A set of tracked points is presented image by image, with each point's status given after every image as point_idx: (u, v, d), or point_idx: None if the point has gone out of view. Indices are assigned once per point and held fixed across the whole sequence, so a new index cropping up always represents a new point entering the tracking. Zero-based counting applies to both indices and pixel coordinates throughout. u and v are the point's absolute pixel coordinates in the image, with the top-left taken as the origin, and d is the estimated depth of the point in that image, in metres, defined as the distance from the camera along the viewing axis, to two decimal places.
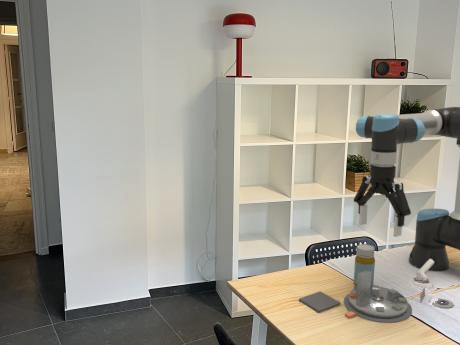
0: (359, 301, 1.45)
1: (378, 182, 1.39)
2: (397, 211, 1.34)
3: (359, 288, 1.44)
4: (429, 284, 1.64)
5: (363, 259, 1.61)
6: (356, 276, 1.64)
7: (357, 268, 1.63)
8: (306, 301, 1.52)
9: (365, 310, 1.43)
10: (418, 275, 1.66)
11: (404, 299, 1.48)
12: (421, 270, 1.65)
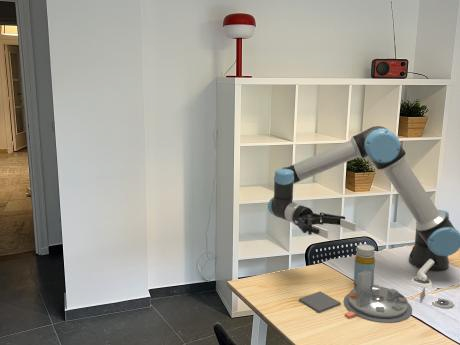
0: (359, 301, 1.45)
1: None
2: None
3: (359, 288, 1.44)
4: (429, 284, 1.64)
5: (363, 259, 1.61)
6: (356, 276, 1.64)
7: (357, 268, 1.63)
8: (306, 301, 1.52)
9: (365, 310, 1.43)
10: (418, 275, 1.66)
11: (404, 299, 1.48)
12: (421, 270, 1.65)
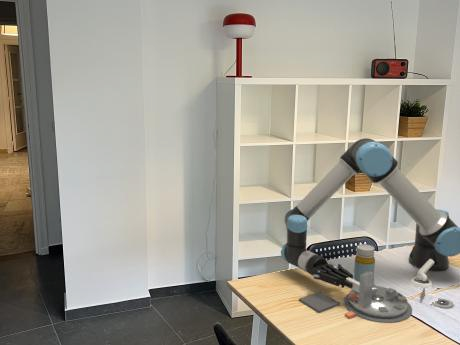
0: (362, 302, 1.44)
1: None
2: None
3: (362, 289, 1.43)
4: (429, 284, 1.64)
5: (363, 259, 1.61)
6: (356, 276, 1.64)
7: (357, 268, 1.63)
8: (306, 301, 1.52)
9: (368, 311, 1.43)
10: (418, 275, 1.66)
11: (403, 298, 1.49)
12: (421, 270, 1.65)
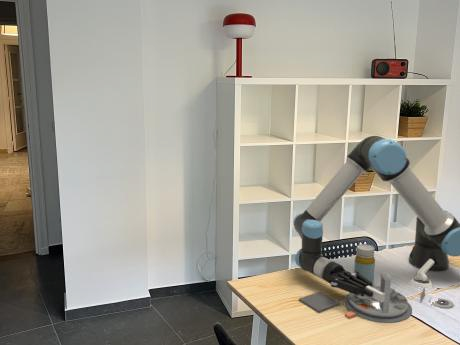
0: (387, 307, 1.41)
1: None
2: None
3: (387, 294, 1.40)
4: (429, 284, 1.64)
5: (363, 259, 1.61)
6: None
7: (357, 268, 1.63)
8: (306, 301, 1.52)
9: (393, 313, 1.41)
10: (418, 275, 1.66)
11: (390, 289, 1.56)
12: (421, 270, 1.65)
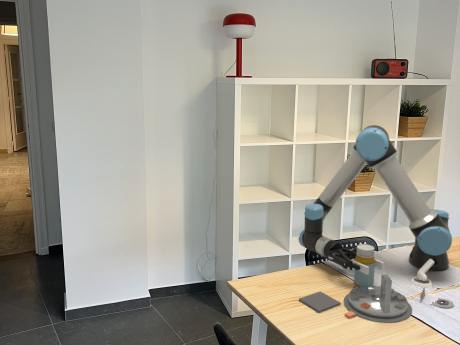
0: (388, 307, 1.41)
1: None
2: None
3: (388, 294, 1.40)
4: (429, 284, 1.64)
5: (363, 259, 1.61)
6: (356, 276, 1.64)
7: None
8: (306, 301, 1.52)
9: (394, 313, 1.41)
10: (418, 275, 1.66)
11: None
12: (421, 270, 1.65)
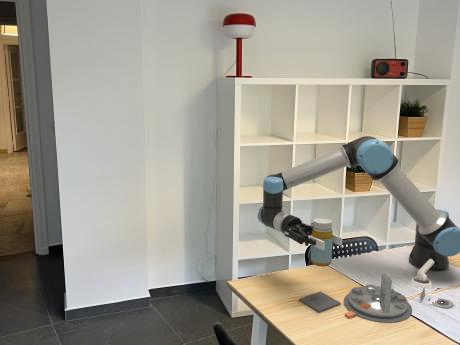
0: (388, 307, 1.41)
1: None
2: None
3: (388, 294, 1.40)
4: (429, 284, 1.64)
5: (319, 233, 1.46)
6: (312, 252, 1.49)
7: None
8: (306, 301, 1.52)
9: (394, 313, 1.41)
10: (418, 275, 1.66)
11: None
12: (421, 270, 1.65)
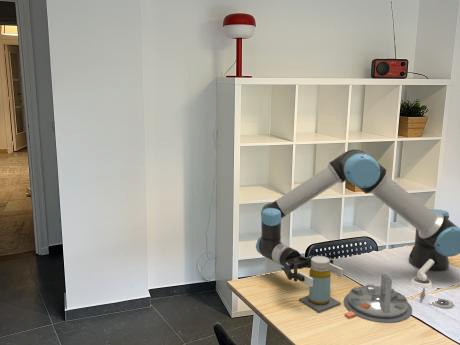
0: (388, 307, 1.41)
1: None
2: None
3: (388, 294, 1.40)
4: (429, 284, 1.64)
5: (317, 272, 1.48)
6: (311, 291, 1.51)
7: None
8: (306, 301, 1.52)
9: (394, 313, 1.41)
10: (418, 275, 1.66)
11: None
12: (421, 270, 1.65)
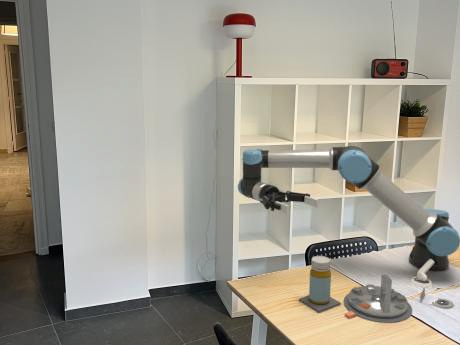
0: (388, 307, 1.41)
1: None
2: None
3: (388, 294, 1.40)
4: (429, 284, 1.64)
5: (318, 272, 1.48)
6: (311, 291, 1.51)
7: (311, 282, 1.50)
8: (306, 301, 1.52)
9: (394, 313, 1.41)
10: (418, 275, 1.66)
11: None
12: (421, 270, 1.65)
